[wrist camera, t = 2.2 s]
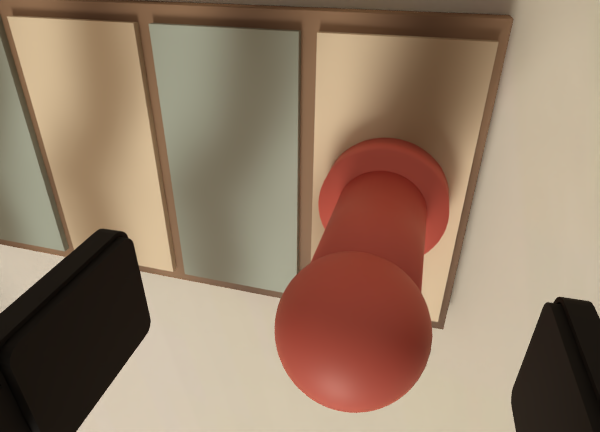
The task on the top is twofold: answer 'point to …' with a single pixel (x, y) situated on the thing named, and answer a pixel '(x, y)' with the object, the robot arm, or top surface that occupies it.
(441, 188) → the pawn
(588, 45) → the top surface
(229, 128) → the board
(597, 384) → the robot arm
